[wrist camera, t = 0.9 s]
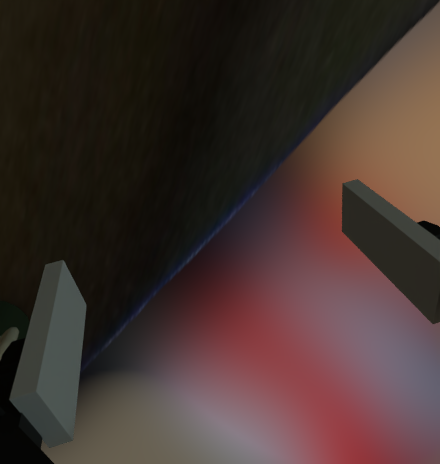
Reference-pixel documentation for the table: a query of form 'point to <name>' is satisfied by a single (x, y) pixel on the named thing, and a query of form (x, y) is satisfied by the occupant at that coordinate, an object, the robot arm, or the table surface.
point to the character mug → (11, 325)
